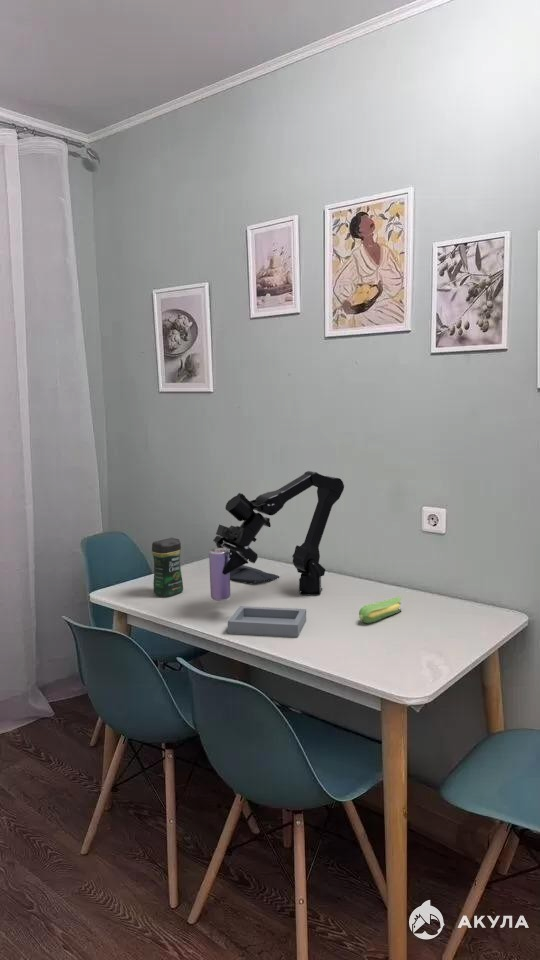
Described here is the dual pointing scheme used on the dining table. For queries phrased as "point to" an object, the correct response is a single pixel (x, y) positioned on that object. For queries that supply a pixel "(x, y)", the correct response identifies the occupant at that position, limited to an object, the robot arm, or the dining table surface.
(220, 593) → the beverage can
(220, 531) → the robot arm
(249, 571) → the dark slate chunk
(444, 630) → the dining table surface
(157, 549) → the coffee jar
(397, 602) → the edible corn
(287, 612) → the tray
